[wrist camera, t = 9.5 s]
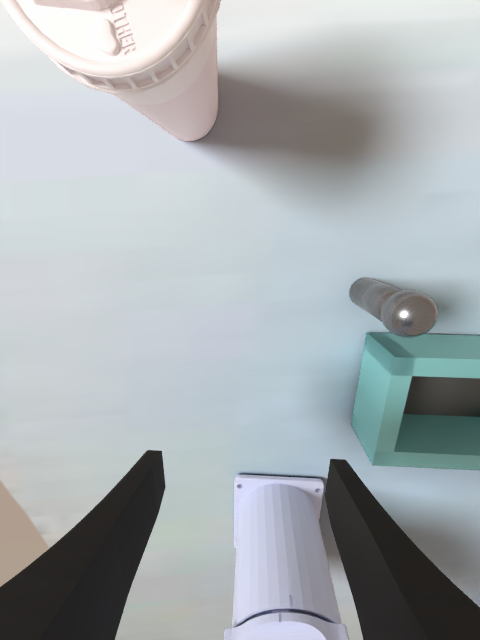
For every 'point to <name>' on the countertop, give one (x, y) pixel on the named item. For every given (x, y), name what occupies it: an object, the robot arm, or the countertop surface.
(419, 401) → the coaster
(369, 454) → the c link
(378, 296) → the cylinder
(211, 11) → the smoothie
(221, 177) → the countertop surface
